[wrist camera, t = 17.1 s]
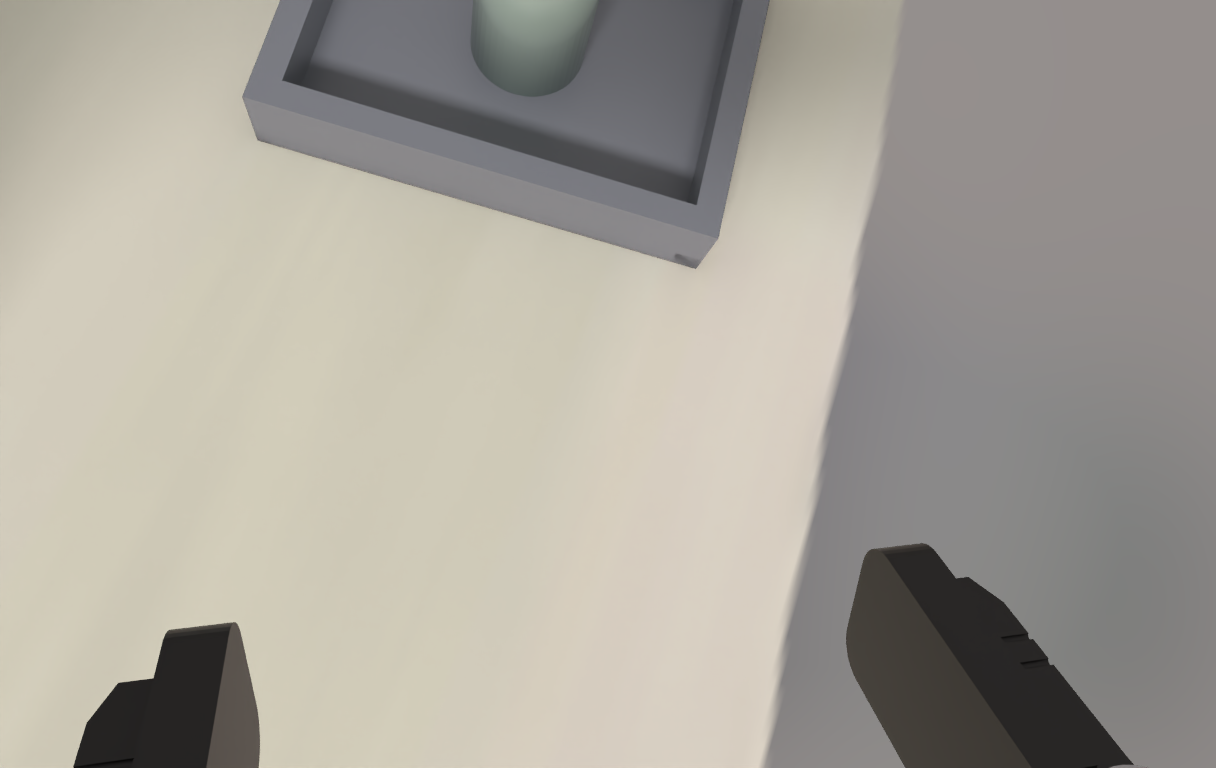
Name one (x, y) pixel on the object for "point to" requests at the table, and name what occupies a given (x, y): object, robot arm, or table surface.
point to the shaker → (531, 42)
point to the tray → (524, 112)
